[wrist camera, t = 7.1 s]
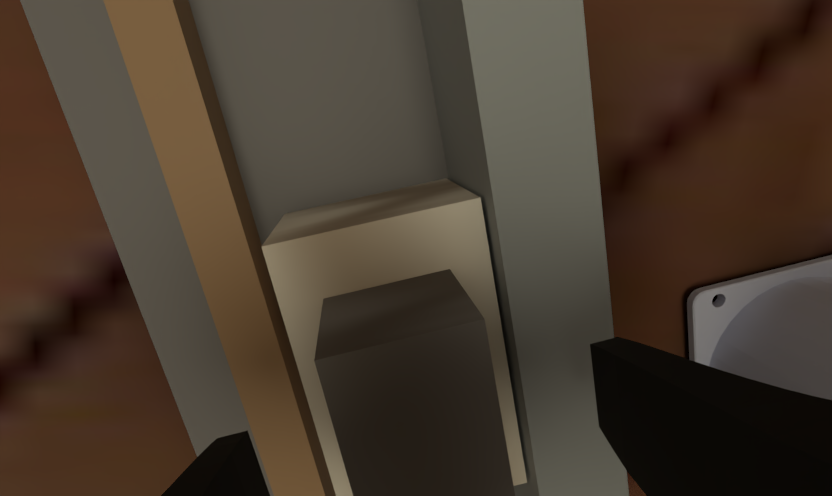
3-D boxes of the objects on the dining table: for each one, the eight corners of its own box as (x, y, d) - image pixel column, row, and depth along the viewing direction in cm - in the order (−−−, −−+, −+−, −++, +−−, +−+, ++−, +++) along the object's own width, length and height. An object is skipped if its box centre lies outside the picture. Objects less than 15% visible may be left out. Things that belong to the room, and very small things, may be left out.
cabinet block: (446, 178, 15) (528, 224, 8) (486, 401, 17) (577, 584, 10) (284, 213, 14) (228, 292, 8) (347, 437, 16) (346, 652, 10)
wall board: (484, -210, 13) (577, -437, 8) (586, 571, 21) (668, 725, 15) (-14, -133, 12) (-298, -334, 7) (287, 659, 20) (264, 857, 14)
